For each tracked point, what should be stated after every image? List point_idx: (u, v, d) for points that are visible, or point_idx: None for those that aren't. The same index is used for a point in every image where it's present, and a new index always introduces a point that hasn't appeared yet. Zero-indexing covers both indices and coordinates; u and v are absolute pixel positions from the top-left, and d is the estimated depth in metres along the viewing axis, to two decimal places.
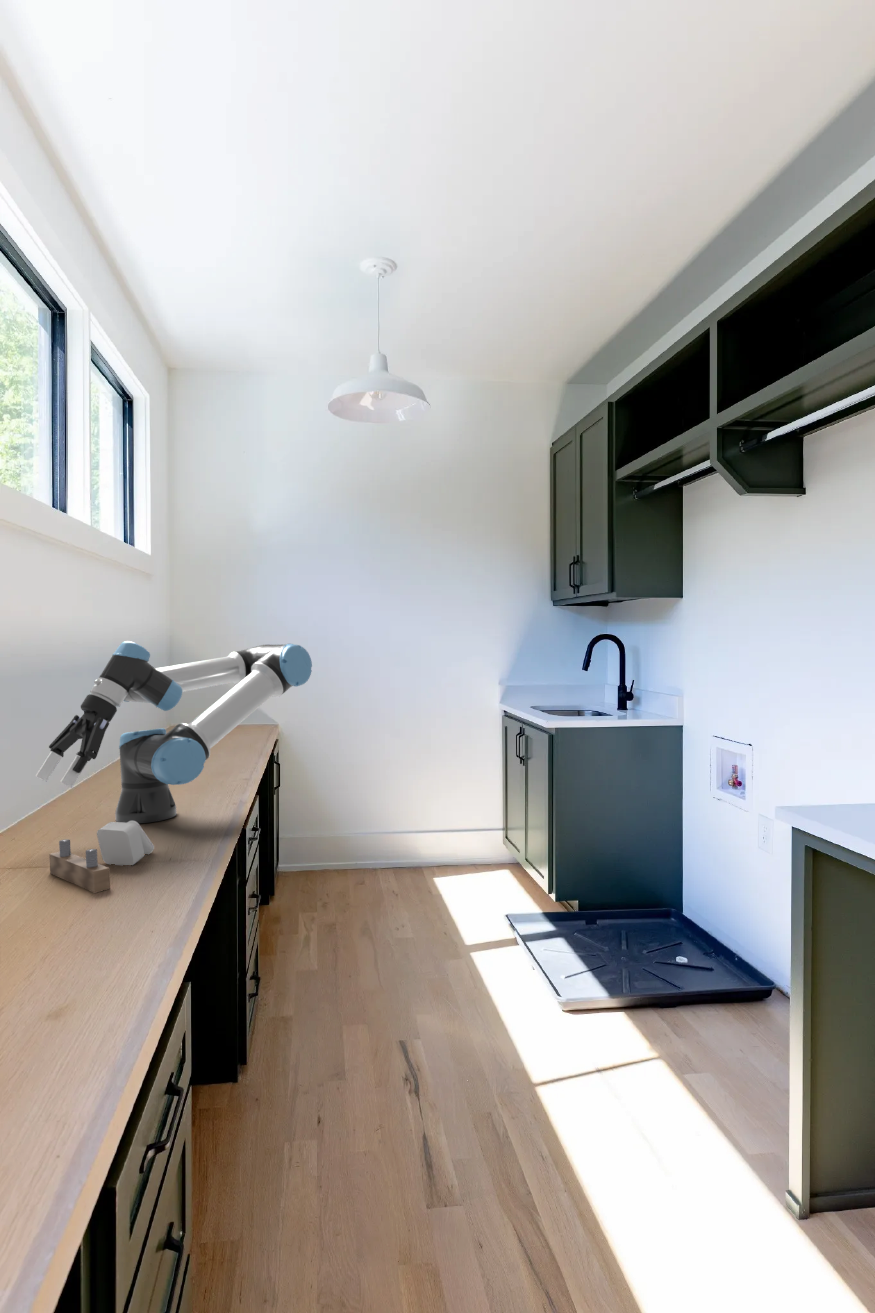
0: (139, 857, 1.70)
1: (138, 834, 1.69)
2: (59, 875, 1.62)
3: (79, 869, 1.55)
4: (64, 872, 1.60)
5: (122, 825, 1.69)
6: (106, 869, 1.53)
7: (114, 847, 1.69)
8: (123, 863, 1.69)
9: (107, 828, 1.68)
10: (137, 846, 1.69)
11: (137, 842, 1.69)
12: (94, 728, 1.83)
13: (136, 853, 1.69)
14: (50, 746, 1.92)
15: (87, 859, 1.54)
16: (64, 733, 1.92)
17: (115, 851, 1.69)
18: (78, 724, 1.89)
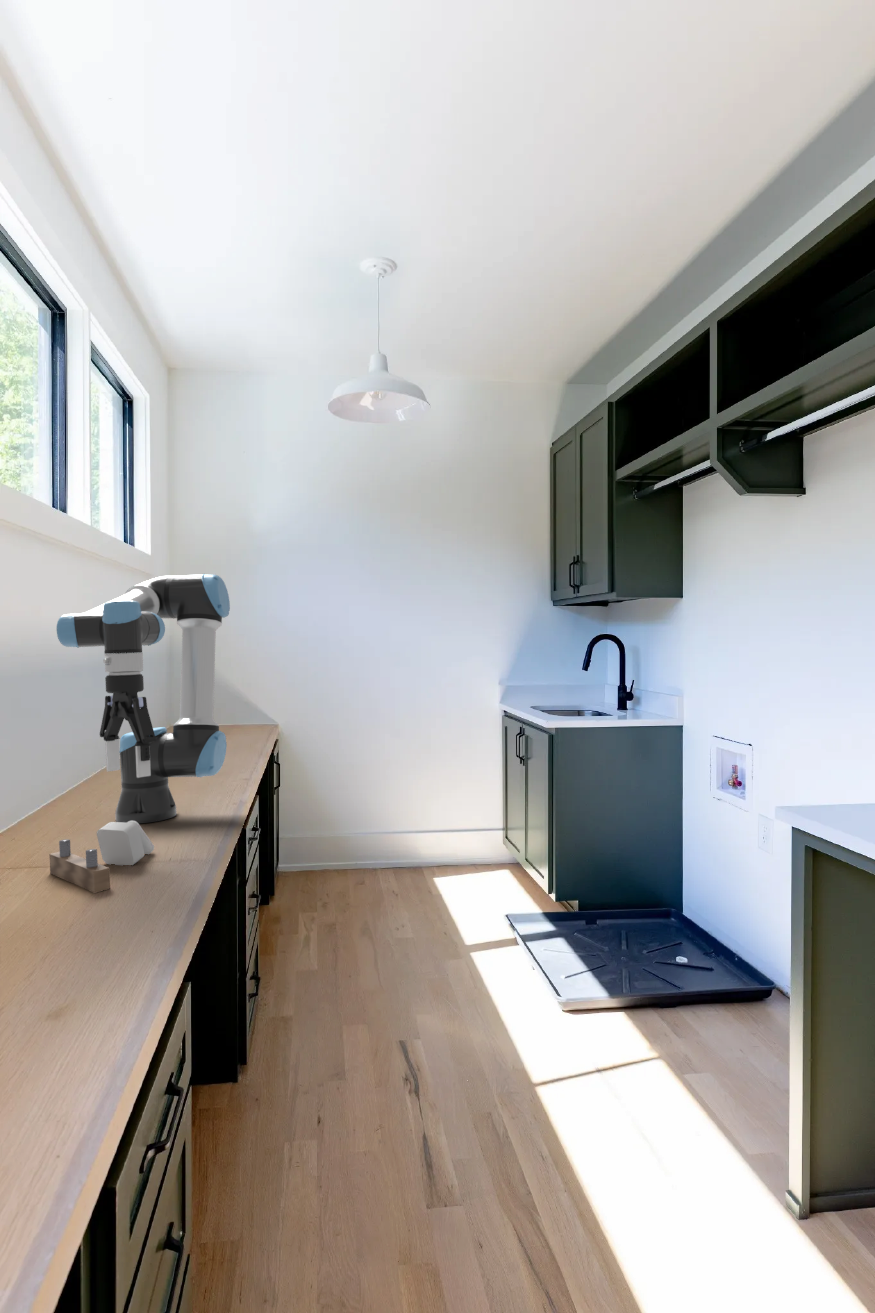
0: (139, 857, 1.70)
1: (138, 834, 1.69)
2: (59, 875, 1.62)
3: (79, 869, 1.55)
4: (64, 872, 1.60)
5: (122, 825, 1.69)
6: (106, 869, 1.53)
7: (114, 847, 1.69)
8: (123, 863, 1.69)
9: (107, 828, 1.68)
10: (137, 846, 1.69)
11: (137, 842, 1.69)
12: (135, 711, 1.67)
13: (136, 853, 1.69)
14: (101, 735, 1.78)
15: (87, 859, 1.54)
16: (106, 718, 1.77)
17: (115, 851, 1.69)
18: (115, 708, 1.72)
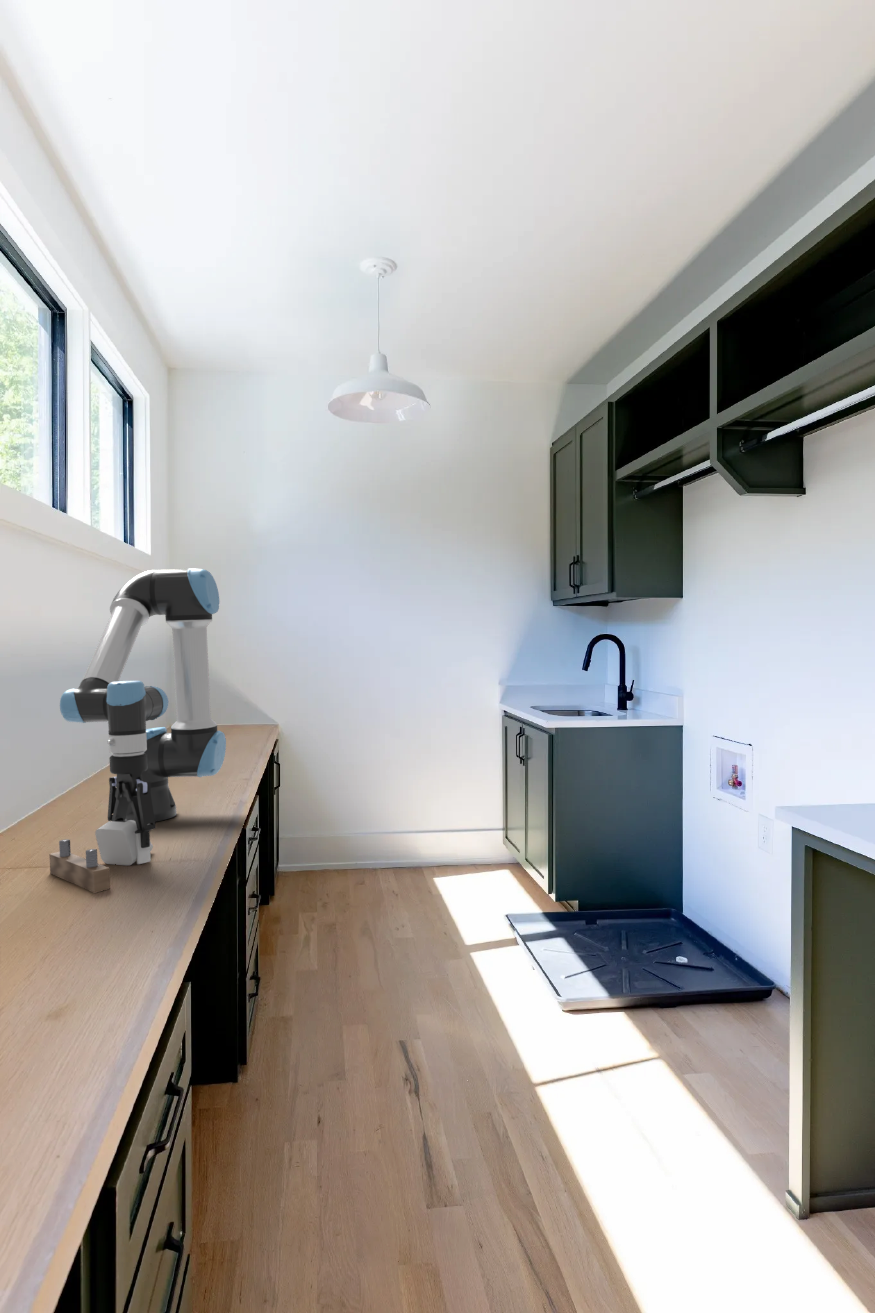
0: None
1: None
2: (59, 875, 1.62)
3: (79, 869, 1.55)
4: (64, 872, 1.60)
5: (121, 824, 1.69)
6: (106, 869, 1.53)
7: (112, 846, 1.69)
8: (122, 862, 1.69)
9: (106, 828, 1.69)
10: (135, 845, 1.69)
11: None
12: (138, 797, 1.68)
13: (134, 852, 1.69)
14: (109, 819, 1.77)
15: (87, 859, 1.54)
16: (112, 800, 1.76)
17: (113, 850, 1.69)
18: (120, 788, 1.73)
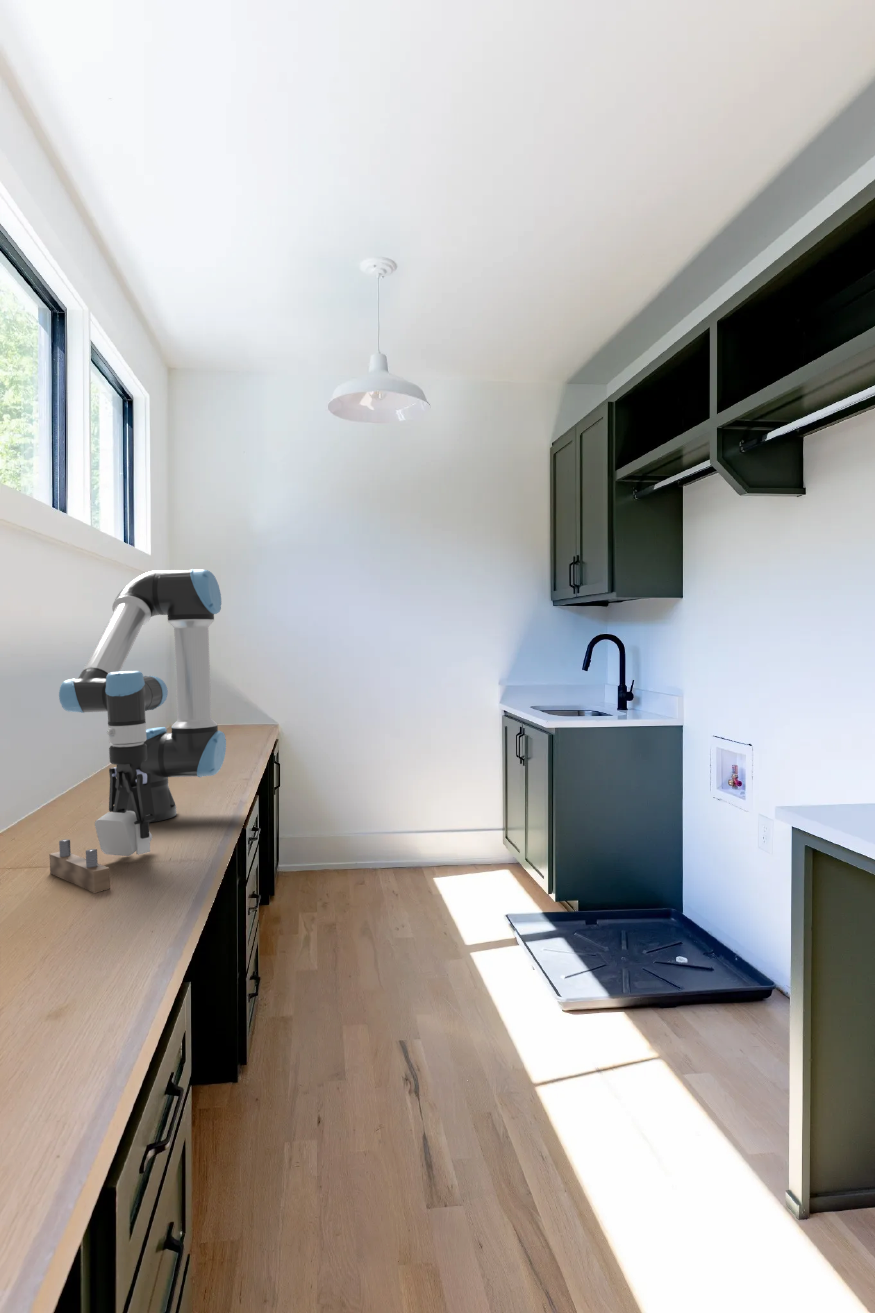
0: None
1: None
2: (59, 875, 1.62)
3: (79, 869, 1.55)
4: (64, 872, 1.60)
5: (120, 815, 1.70)
6: (106, 869, 1.53)
7: (112, 837, 1.69)
8: (121, 853, 1.70)
9: (105, 819, 1.69)
10: (135, 836, 1.70)
11: None
12: (138, 788, 1.68)
13: (134, 843, 1.70)
14: (110, 810, 1.77)
15: (87, 859, 1.54)
16: (113, 791, 1.77)
17: (113, 841, 1.70)
18: (120, 778, 1.73)
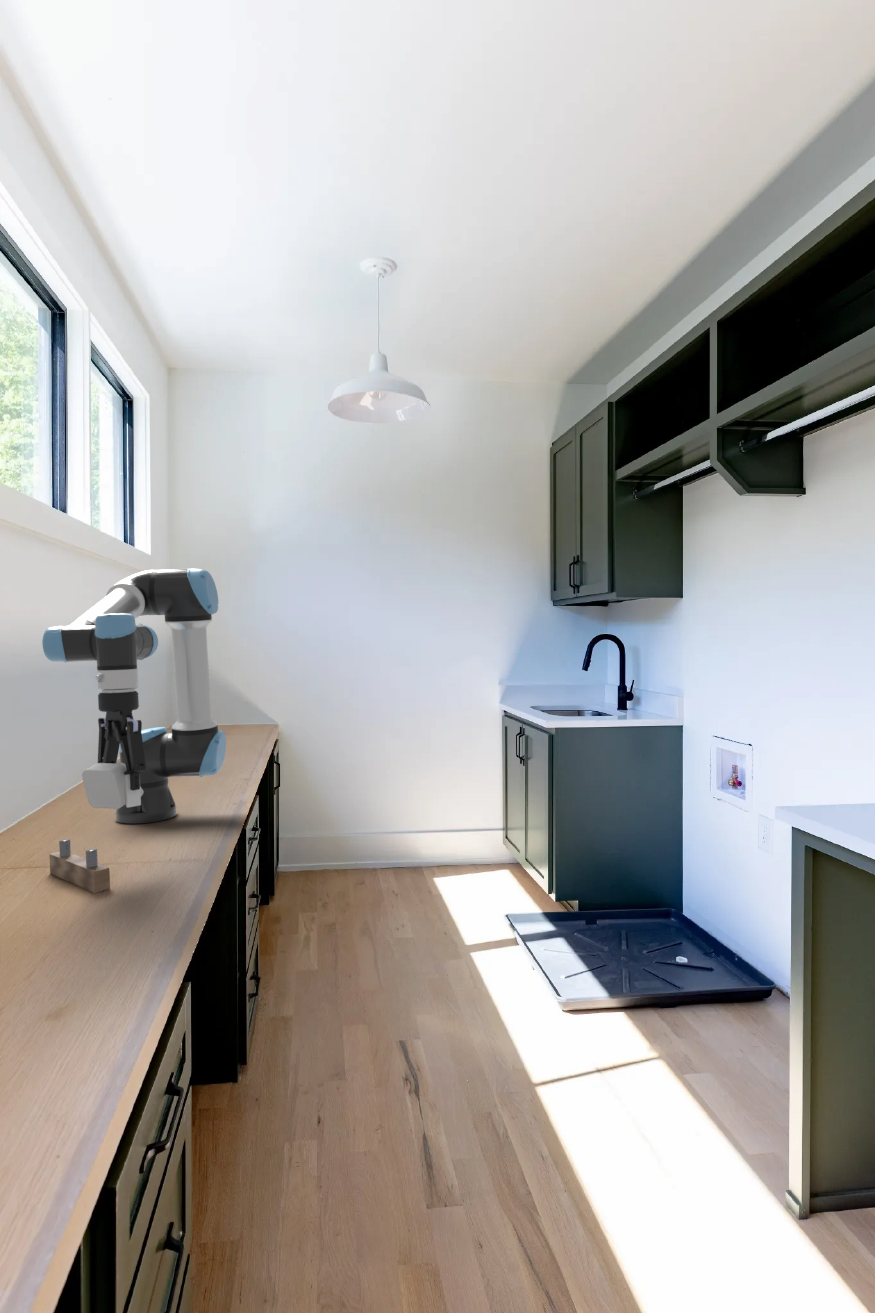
0: None
1: None
2: (59, 875, 1.62)
3: (79, 869, 1.55)
4: (64, 872, 1.60)
5: (109, 765, 1.60)
6: (106, 869, 1.53)
7: (100, 789, 1.59)
8: (110, 806, 1.60)
9: (93, 769, 1.59)
10: (124, 788, 1.60)
11: None
12: (128, 736, 1.58)
13: (123, 795, 1.59)
14: None
15: (87, 859, 1.54)
16: (102, 742, 1.66)
17: (101, 793, 1.59)
18: (109, 727, 1.63)
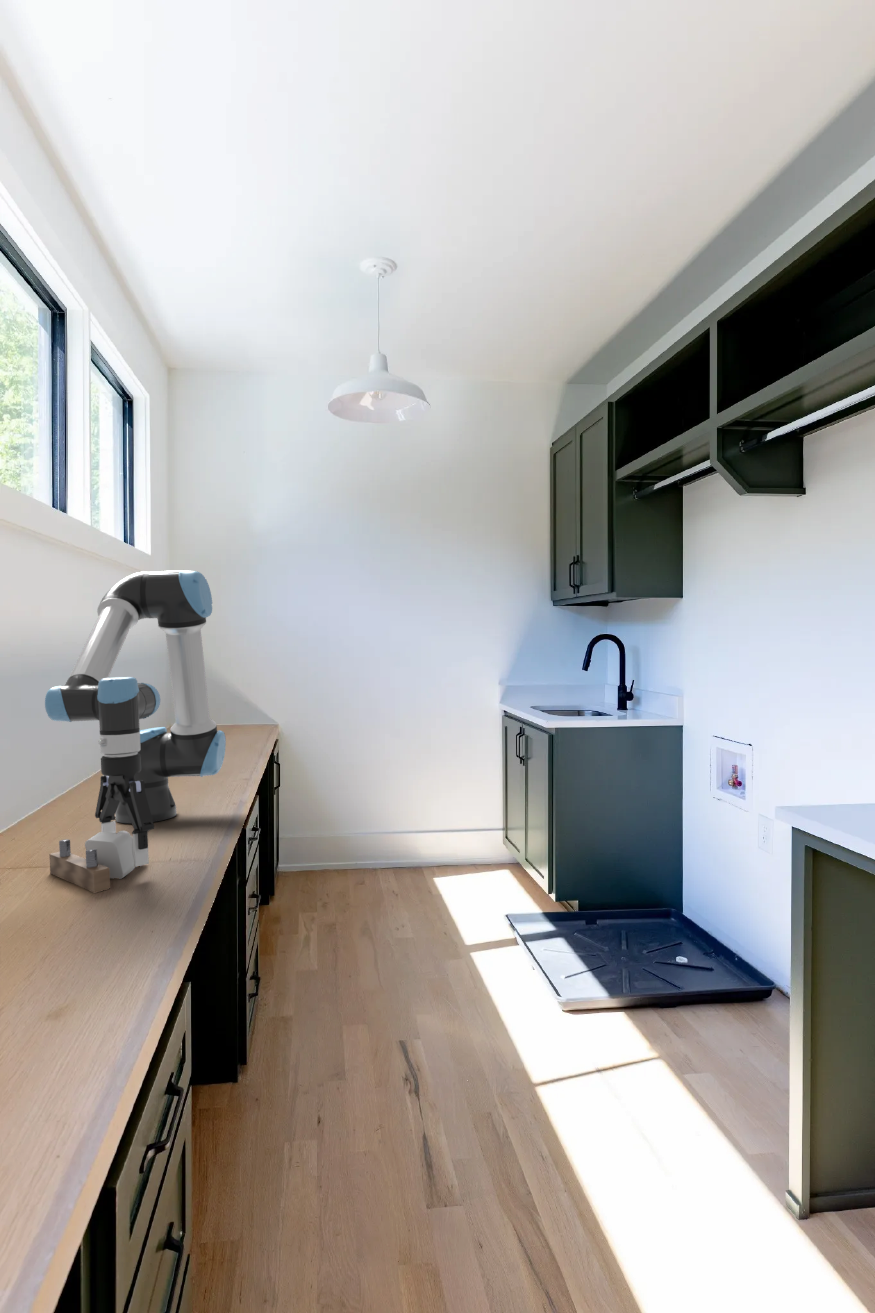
0: (129, 869, 1.61)
1: (128, 845, 1.60)
2: (59, 875, 1.62)
3: (79, 869, 1.55)
4: (64, 872, 1.60)
5: (111, 836, 1.60)
6: (106, 869, 1.53)
7: (102, 859, 1.60)
8: (112, 876, 1.60)
9: (95, 839, 1.60)
10: (127, 858, 1.60)
11: (127, 854, 1.60)
12: (132, 797, 1.58)
13: (125, 865, 1.60)
14: (96, 816, 1.69)
15: (87, 859, 1.54)
16: (102, 799, 1.68)
17: (103, 863, 1.60)
18: (111, 791, 1.63)
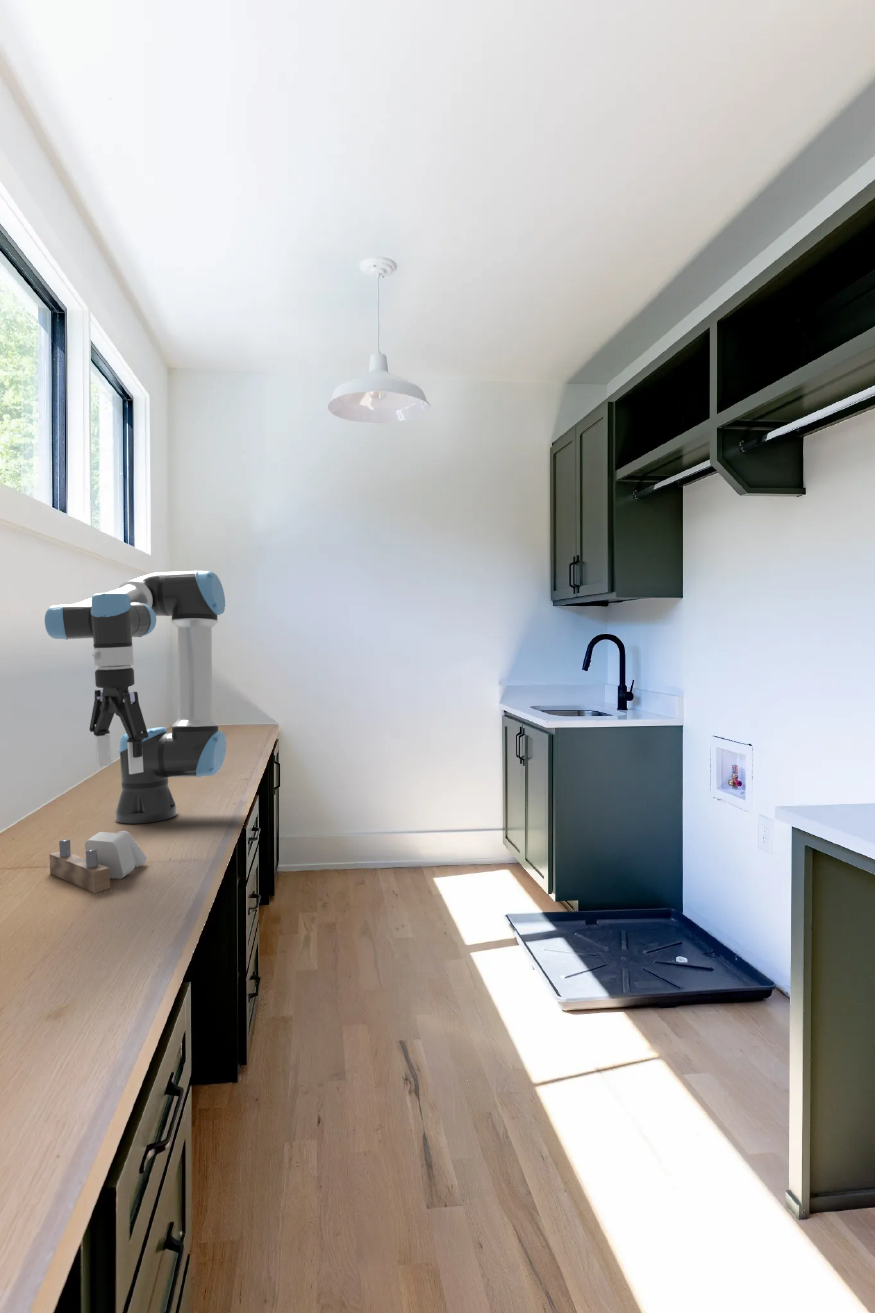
0: (129, 869, 1.61)
1: (128, 845, 1.60)
2: (59, 875, 1.62)
3: (79, 869, 1.55)
4: (64, 872, 1.60)
5: (111, 836, 1.60)
6: (106, 869, 1.53)
7: (102, 859, 1.60)
8: (112, 876, 1.60)
9: (95, 839, 1.60)
10: (127, 858, 1.60)
11: (127, 854, 1.60)
12: (126, 707, 1.63)
13: (125, 865, 1.60)
14: (91, 730, 1.74)
15: (87, 859, 1.54)
16: (96, 712, 1.73)
17: (103, 863, 1.60)
18: (105, 703, 1.68)
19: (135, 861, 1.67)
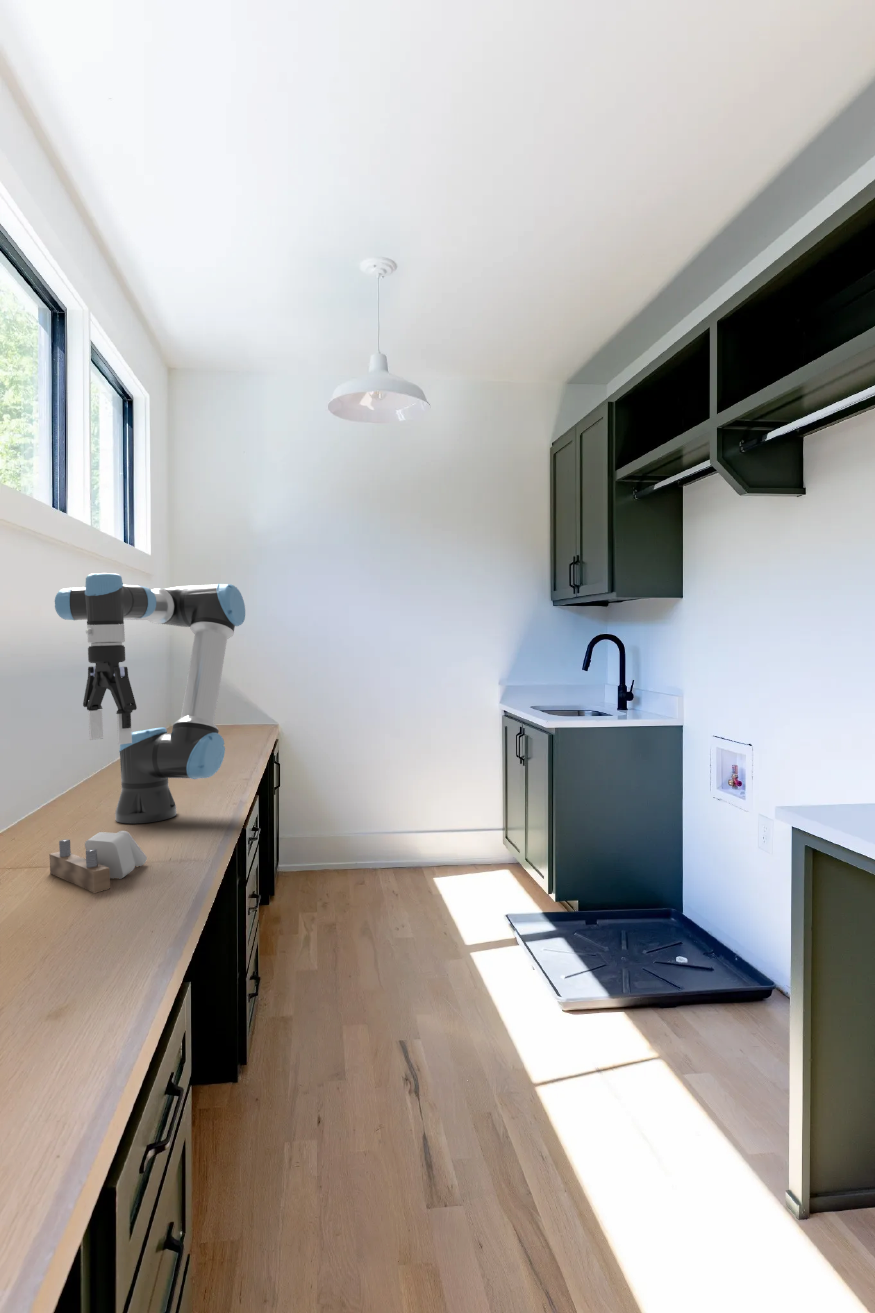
0: (129, 869, 1.61)
1: (128, 845, 1.60)
2: (59, 875, 1.62)
3: (79, 869, 1.55)
4: (64, 872, 1.60)
5: (111, 836, 1.60)
6: (106, 869, 1.53)
7: (102, 859, 1.60)
8: (112, 876, 1.60)
9: (95, 839, 1.59)
10: (126, 858, 1.60)
11: (127, 854, 1.60)
12: (116, 680, 1.72)
13: (125, 865, 1.60)
14: (84, 705, 1.83)
15: (87, 859, 1.54)
16: (89, 688, 1.82)
17: (103, 863, 1.60)
18: (98, 678, 1.77)
19: (135, 861, 1.67)
